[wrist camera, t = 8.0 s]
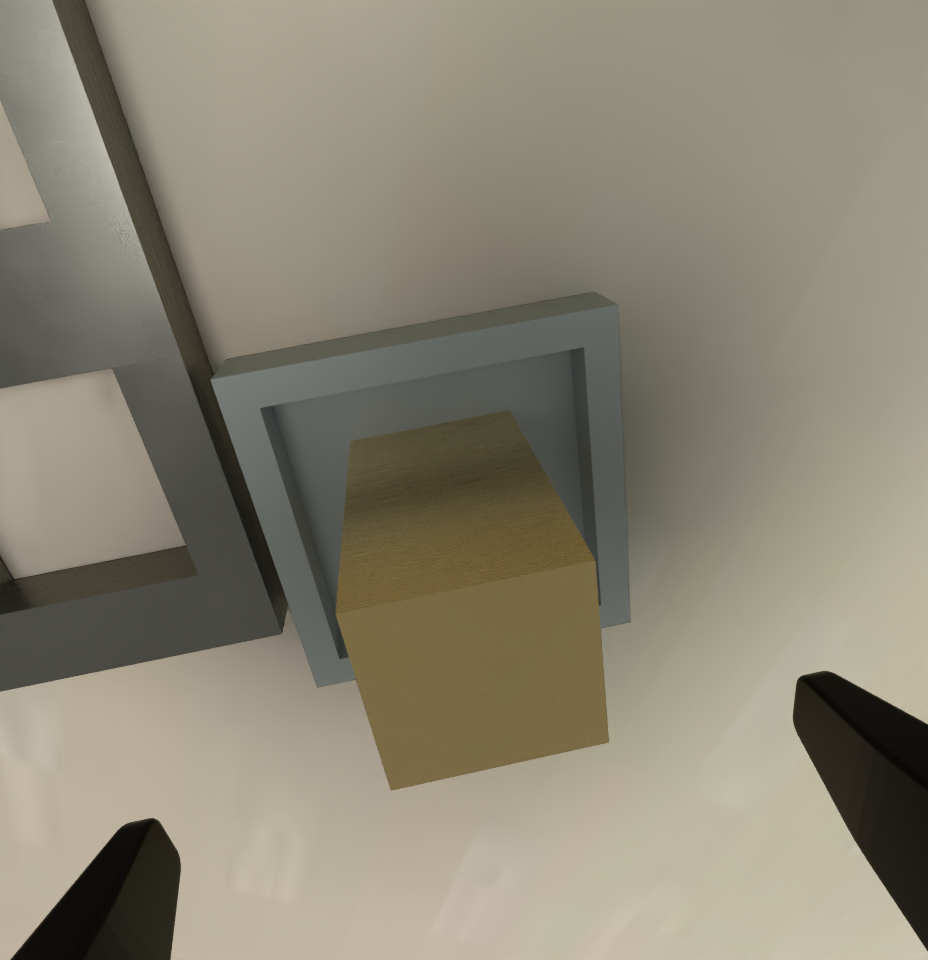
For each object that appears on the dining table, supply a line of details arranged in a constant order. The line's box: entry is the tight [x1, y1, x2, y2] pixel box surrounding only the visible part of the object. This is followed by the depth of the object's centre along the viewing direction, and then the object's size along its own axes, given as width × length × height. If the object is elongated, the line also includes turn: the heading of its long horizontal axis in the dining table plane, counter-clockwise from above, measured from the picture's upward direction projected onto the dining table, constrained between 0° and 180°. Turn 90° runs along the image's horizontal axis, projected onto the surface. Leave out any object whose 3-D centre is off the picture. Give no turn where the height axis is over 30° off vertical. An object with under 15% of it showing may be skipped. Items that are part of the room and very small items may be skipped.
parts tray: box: [210, 292, 631, 688], centre depth 20 cm, size 11×11×2 cm
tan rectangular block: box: [336, 410, 609, 790], centre depth 17 cm, size 5×5×8 cm
